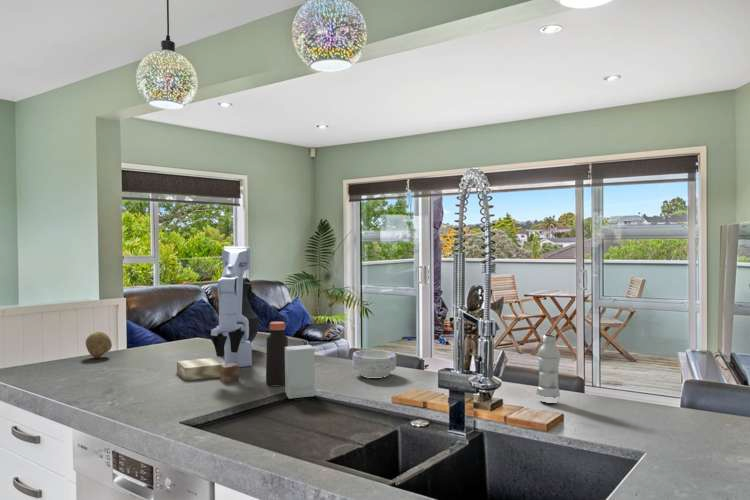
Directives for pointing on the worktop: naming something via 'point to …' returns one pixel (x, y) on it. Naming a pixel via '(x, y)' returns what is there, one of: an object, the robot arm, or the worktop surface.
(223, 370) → the walnut cube
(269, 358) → the vinegar
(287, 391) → the skincare box
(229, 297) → the robot arm
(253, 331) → the pitcher
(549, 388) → the plastic bottle
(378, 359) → the grey stone bowl
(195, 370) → the birch pedestal
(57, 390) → the worktop surface
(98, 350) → the natural sponge
